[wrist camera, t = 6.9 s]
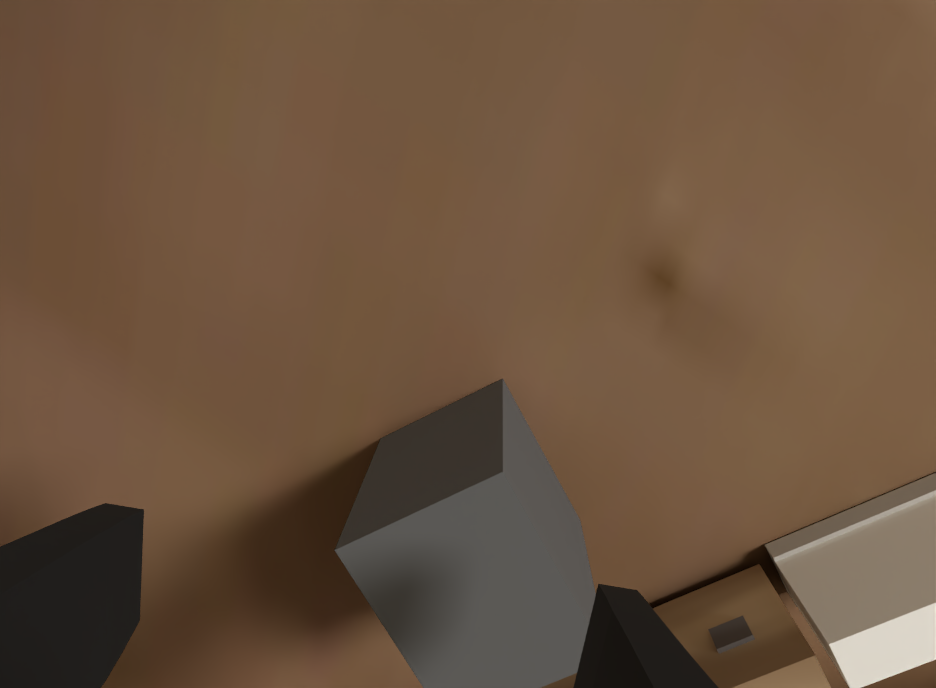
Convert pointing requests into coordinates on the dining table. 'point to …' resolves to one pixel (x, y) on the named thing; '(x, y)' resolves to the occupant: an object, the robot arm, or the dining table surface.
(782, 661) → the door
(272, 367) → the dining table surface
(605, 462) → the dining table surface
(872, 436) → the dining table surface
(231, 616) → the dining table surface
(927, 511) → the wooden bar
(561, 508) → the gray rectangular block
